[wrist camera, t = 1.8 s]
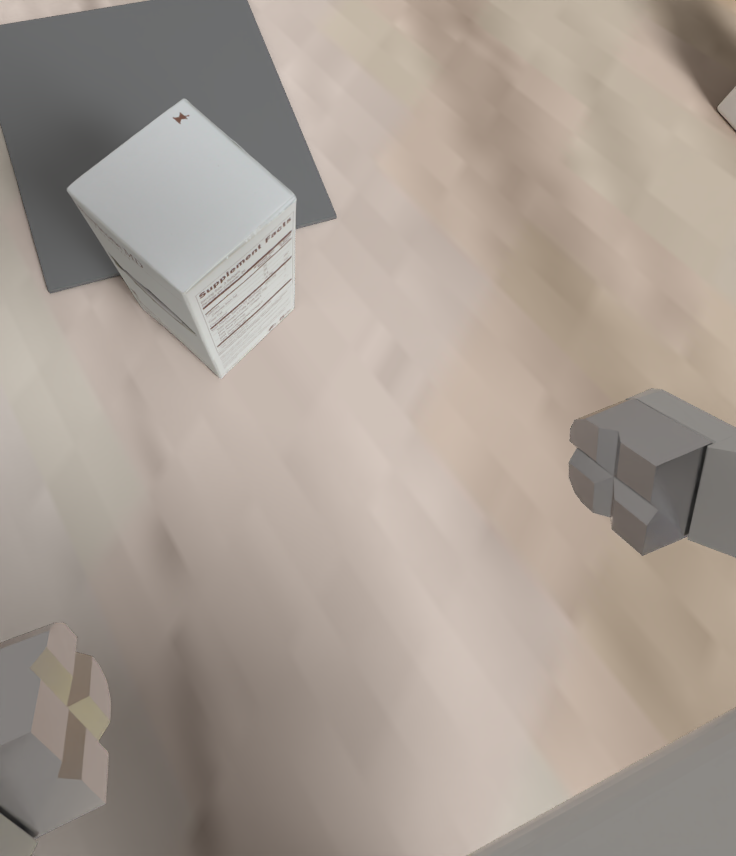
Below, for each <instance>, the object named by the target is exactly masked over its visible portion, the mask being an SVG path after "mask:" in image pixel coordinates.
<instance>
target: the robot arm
mask: <svg viewBox="0 0 736 856" xmlns="http://www.w3.org/2000/svg"><path fill="white" fill-rule="evenodd" d="M570 442H571V443H572V444H573V445H574V446H575V447H576V448H577V449H576V451H575V452H574V454H573V456H572V457H571V459H570V461H569V479H570V482H571V485H572V487H573V490H574V492H575V494H576V495H577V497H578V498H579V499H580V501H581V502H582V503H583V504H584V505H585V506H586V507H587V508H588V509H589V510H590V511H592V512H593V513H597V514H600V515H604V516H607V517H610V521H611V528H612V530H613V531H614V532H615V533H617V534H618V535H619V536H620V537H621V538H622V539H624V540H625V541H626V542H627V543H628V544H629V545H630V546H632V547H633V548H634V549H635V550H636V551H637V552H639V553H640V554H641V555H642V556H643V555H646V554H648V553H650V552H653V551H655V550H657V549H660V548H662V547H664V546H667V545H669V544H671V543H674V542H676V541H678V540H681V539H683V538H685V537H688V540H690V541H693V542H696V543H698V544H701V545H704V546H706V547H709V548H711V549H714V550H717V551H719V552H722V553H725V554H727V555H730V556H733V557H735V558H736V427H734V426H732V425H730V424H728V423H726V422H724V421H722V420H720V419H718V418H716V417H714V416H712V415H710V414H708V413H707V412H705V411H703V410H701V409H699V408H697V407H695V406H693V405H691V404H689V403H687V402H685V401H683V400H681V399H680V398H678V397H676V396H674V395H672V394H670V393H668V392H666V391H664V390H661V389H653V388H651V389H649V390H646V391H644V392H642V393H639V394H637V395H634V396H632V397H629V398H627V399H626V400H624V401H621V402H618V403H616V404H613V405H611V406H608V407H606V408H603V409H601V410H598V411H596V412H593V413H591V414H588V415H586V416H583V417H581V418H578V419H576V420H574V422H573V424H572V426H571V428H570ZM76 645H77V636H76V635H75V634H74V633H73V632H72V630H71V629H70V628H69V627H68V626H67V625H66V624H65V623H57V622H56V623H53V624H50V625H47V626H45V627H42V628H39V629H36V630H34V631H31V632H28V633H25V634H23V635H20V636H17V637H15V638H12V639H9V640H6V641H4V642H1V643H0V856H31V855H32V853H33V851H34V849H35V847H36V845H37V843H38V841H37V840H36V838H38V837H40V836H42V835H44V834H46V833H48V832H50V831H52V830H54V829H56V828H58V827H60V826H62V825H64V824H66V823H68V822H70V821H72V820H75V819H77V818H79V817H81V816H83V815H85V814H87V813H89V812H91V811H93V810H95V809H97V808H99V807H101V806H103V805H105V804H106V795H107V778H108V761H109V752H108V751H107V750H106V749H105V748H104V747H103V746H102V745H101V743H100V742H99V740H100V738H101V736H102V735H103V733H104V731H105V730H106V728H107V726H108V725H109V723H110V721H111V698H110V693H109V688H108V683H107V679H106V677H105V675H104V673H103V671H102V669H101V667H100V665H99V664H98V663H97V661H96V660H95V659H94V657H93V656H90V655H86V654H82V653H78V652H76ZM467 856H736V707H735V708H733V709H731V710H729V711H727V712H725V713H724V714H722V715H720V716H718V717H716V718H715V719H713V720H711V721H709V722H707V723H706V724H704V725H702V726H700V727H698V728H697V729H695V730H693V731H691V732H689V733H688V734H686V735H684V736H682V737H680V738H678V739H677V740H675V741H673V742H671V743H669V744H668V745H666V746H664V747H662V748H660V749H659V750H657V751H655V752H653V753H651V754H650V755H648V756H646V757H644V758H642V759H640V760H639V761H637V762H635V763H633V764H631V765H630V766H628V767H626V768H624V769H622V770H621V771H619V772H617V773H615V774H613V775H612V776H610V777H608V778H606V779H604V780H602V781H601V782H599V783H597V784H595V785H593V786H592V787H590V788H588V789H586V790H584V791H583V792H581V793H579V794H577V795H575V796H574V797H572V798H570V799H568V800H566V801H565V802H563V803H561V804H559V805H557V806H555V807H554V808H552V809H550V810H548V811H546V812H545V813H543V814H541V815H539V816H537V817H536V818H534V819H532V820H530V821H528V822H527V823H525V824H523V825H521V826H519V827H517V828H516V829H514V830H512V831H510V832H508V833H507V834H505V835H503V836H501V837H499V838H498V839H496V840H494V841H492V842H490V843H489V844H487V845H485V846H483V847H481V848H480V849H478V850H476V851H474V852H472V853H470V854H469V855H467Z"/></svg>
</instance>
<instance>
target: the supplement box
mask: <svg viewBox="0 0 736 856" xmlns="http://www.w3.org/2000/svg"><path fill="white" fill-rule="evenodd" d="M67 192H68V193H69V195H70V196H71V198H72V199H73V201H74V202H75V204H76V205H77V207H78V209H79V210H80V212H81V213H82V215H83V216H84V218H85V219H86V221H87V223H88V224H89V226H90V227H91V229H92V230H93V232H94V233H95V235H96V237H97V238H98V240H99V241H100V243H101V245H102V246H103V248H104V249H105V251H106V252H107V254H108V256H109V257H110V259H111V260H112V262H113V264H114V265H115V267H116V268H117V270H118V272H119V273H120V275H121V276H122V278H123V279H124V281H125V282H126V284H127V285H128V287H129V289H130V290H131V292H132V293H133V295H134V297H135V298H136V300H137V301H138V303H139V304H140V306H141V307H142V309H143V310H144V311H146V312H147V313H148V314H149V315H151V316H152V317H153V318H154V319H156V320H157V321H158V322H159V323H160V324H162V325H163V326H164V327H165V328H166V329H167V330H168V331H170V332H171V333H172V334H173V335H174V336H175V337H176V338H177V339H179V340H180V341H181V342H182V343H183V344H184V345H185V346H186V347H187V348H188V349H189V350H191V351H192V352H193V353H194V354H195V355H196V356H197V357H198V358H199V359H200V360H201V361H202V362H203V363H204V364H205V365H206V366H208V367H209V368H210V369H211V370H212V371H213V372H214V373H215V374H216V375H217V376H218V377H219V378H223V377H224V376H225V374H226V373H227V372H228V371H230V370H231V369H232V368H233V367H234V366H235V365H236V364H237V363H238V362H239V361H240V360H241V359H242V358H243V357H244V356H245V355H246V354H247V353H248V352H249V351H251V349H252V348H254V347H255V346H256V345H257V344H258V343H259V342H260V341H261V340H262V339H263V338H264V337H265V336H266V335H267V334H268V333H269V332H270V331H271V330H272V329H274V328H275V327H276V326H277V325H278V324H279V323H280V322H281V321H282V320H283V319H284V318H285V317H286V316H287V315H288V314H289V313H290V312H291V311H292V310H293V309H294V296H295V230H296V196H295V195H294V193H293V192H292V191H291V190H289V189H288V188H287V187H286V186H285V185H284V184H283V183H281V182H280V181H279V180H278V179H277V178H275V177H274V176H273V175H272V174H271V173H270V172H269V171H267V170H266V169H265V168H264V167H263V166H262V165H261V164H259V163H258V162H257V161H256V160H255V159H254V158H252V157H251V156H250V155H249V154H248V153H247V152H246V151H245V150H244V149H242V148H241V146H239V145H238V144H237V143H236V142H235V141H234V140H232V139H231V138H230V137H228V136H227V135H226V134H225V133H224V132H223V131H222V130H220V129H219V128H218V127H217V126H216V125H215V124H213V123H212V122H211V121H210V120H209V119H208V118H207V117H205V116H204V115H203V114H202V113H201V112H200V111H199V110H197V109H196V108H195V107H194V106H193V105H192V104H191V103H190V102H189V101H188V100H187V99H181V100H180V101H179V102H178V103H177V104H175V105H174V106H172V107H171V108H169V109H168V110H167V111H165V112H164V113H163V114H161V115H160V116H159V117H157V118H156V119H155V120H153V121H152V122H151V123H149V124H148V125H147V126H146V127H144V128H143V129H142V130H140V131H139V132H138V133H136V134H135V135H134V136H132V137H131V138H130V139H129V140H127V141H126V142H125V143H123V144H122V145H121V146H119V147H118V148H117V149H115V150H114V151H113V152H112V153H110V154H109V155H108V156H106V157H105V158H104V159H102V160H101V161H100V162H99V163H97V164H96V165H95V166H93V167H92V168H91V169H89V170H88V171H87V172H85V173H84V174H83V175H82V176H80V177H79V178H78V179H76V180H75V181H74V182H73V183H72V184H71V185H70V186H69V187H68V188H67Z"/></svg>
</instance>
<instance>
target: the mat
mask: <svg viewBox="0 0 736 856" xmlns="http://www.w3.org/2000/svg"><path fill="white" fill-rule="evenodd" d="M181 99H187V100H188V101H189V102H190V103H191V104H192V105H193V106H194V107H195V108H196V109H197V110H199V111H200V112H201V113H202V114H203V115H204V116H205V117H207V118H208V119H209V120H210V121H211V122H212V123H213V124H215V125H216V126H217V127H218V128H219V129H220V130H222V131H223V132H224V133H225V134H226V135H227V136H228V137H230V138H231V139H232V140H234V141H235V142H236V143H237V144H238V145H239V146H241V148H242V149H244V150H245V151H246V152H247V153H248V154H249V155H250V156H251V157H252V158H254V159H255V160H256V161H257V162H258V163H259V164H261V165H262V166H263V167H264V168H265V169H266V170H267V171H269V172H270V173H271V174H272V175H273V176H274V177H275V178H277V179H278V180H279V181H280V182H281V183H283V184H284V185H285V186H286V187H287V188H288V189H289V190H291V191H292V192H293V193H294V195H295V196H296V229H298V228H301V227H305V226H309V225H313V224H317V223H320V222H324V221H328V220H332V219H336V213H335V211H334V208H333V206H332V204H331V201H330V199H329V196H328V194H327V192H326V189H325V187H324V184H323V182H322V180H321V177H320V175H319V172H318V170H317V168H316V165H315V163H314V160H313V158H312V155H311V153H310V151H309V148H308V146H307V143H306V141H305V139H304V136H303V134H302V131H301V129H300V127H299V124H298V122H297V119H296V117H295V115H294V112H293V110H292V107H291V105H290V102H289V100H288V98H287V95H286V93H285V90H284V88H283V86H282V83H281V81H280V78H279V76H278V74H277V71H276V69H275V66H274V64H273V62H272V59H271V57H270V54H269V52H268V50H267V47H266V45H265V42H264V40H263V37H262V35H261V33H260V30H259V28H258V25H257V23H256V21H255V18H254V16H253V13H252V11H251V9H250V6H249V4H248V1H247V0H150V1H144V2H138V3H132V4H126V5H119V6H113V7H107V8H101V9H95V10H89V11H83V12H77V13H71V14H65V15H59V16H52V17H46V18H40V19H34V20H28V21H22V22H16V23H10V24H4V25H0V123H1V127H2V130H3V134H4V138H5V141H6V145H7V148H8V152H9V155H10V159H11V162H12V166H13V169H14V173H15V176H16V180H17V183H18V187H19V190H20V194H21V197H22V201H23V204H24V208H25V211H26V215H27V218H28V222H29V225H30V229H31V232H32V236H33V239H34V243H35V246H36V250H37V253H38V257H39V260H40V264H41V267H42V271H43V274H44V278H45V281H46V285H47V288H48V291H49V292H50V293H53V292H57V291H61V290H65V289H69V288H72V287H76V286H80V285H84V284H88V283H92V282H95V281H99V280H103V279H107V278H111V277H114V276H118V275H120V273H119V272H118V270H117V268H116V267H115V265H114V264H113V262H112V260H111V259H110V257H109V256H108V254H107V252H106V251H105V249H104V248H103V246H102V245H101V243H100V241H99V240H98V238H97V237H96V235H95V233H94V232H93V230H92V229H91V227H90V226H89V224H88V223H87V221H86V219H85V218H84V216H83V215H82V213H81V212H80V210H79V209H78V207H77V205H76V204H75V202H74V201H73V199H72V198H71V196H70V195H69V193H68V192H67V188H68V187H69V186H70V185H71V184H72V183H73V182H74V181H75V180H76V179H78V178H79V177H80V176H82V175H83V174H84V173H85V172H87V171H88V170H89V169H91V168H92V167H93V166H95V165H96V164H97V163H99V162H100V161H101V160H102V159H104V158H105V157H106V156H108V155H109V154H110V153H112V152H113V151H114V150H115V149H117V148H118V147H119V146H121V145H122V144H123V143H125V142H126V141H127V140H129V139H130V138H131V137H132V136H134V135H135V134H136V133H138V132H139V131H140V130H142V129H143V128H144V127H146V126H147V125H148V124H149V123H151V122H152V121H153V120H155V119H156V118H157V117H159V116H160V115H161V114H163V113H164V112H165V111H167V110H168V109H169V108H171V107H172V106H174V105H175V104H177V103H178V102H179V101H180V100H181Z"/></svg>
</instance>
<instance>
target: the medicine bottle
mask: <svg viewBox="0 0 736 856" xmlns="http://www.w3.org/2000/svg"><path fill="white" fill-rule="evenodd" d="M717 109H718V111H719V113H720V114H721V115H722V116H723V117H724V118H725V119H726V120H727V121H728V122H729V124H730V125H731V126H732V127H733V128H734V129H735V130H736V86H735V87H734V89H733V90H732V91H731V92H730V93H729V94H728V95H727V96H726V97H725V98H724V100H723V101H722V102H721V103H720V104H719V105H718V107H717Z"/></svg>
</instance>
